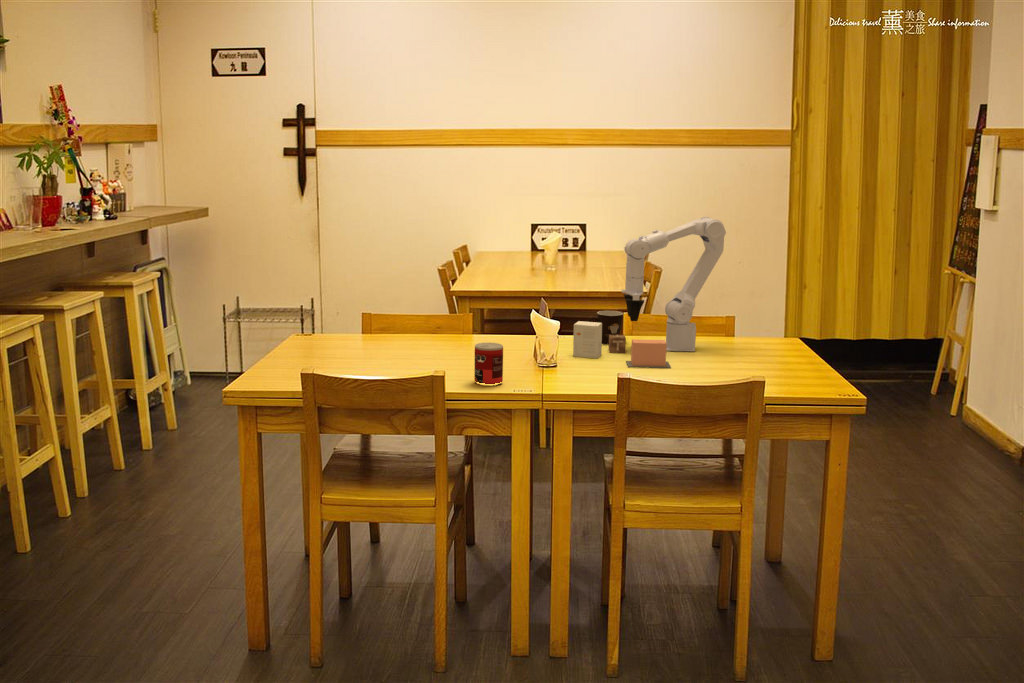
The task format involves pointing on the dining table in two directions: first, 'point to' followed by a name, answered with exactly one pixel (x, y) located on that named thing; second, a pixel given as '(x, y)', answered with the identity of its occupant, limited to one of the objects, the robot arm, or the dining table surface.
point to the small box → (587, 339)
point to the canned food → (488, 363)
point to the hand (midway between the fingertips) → (632, 318)
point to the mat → (649, 366)
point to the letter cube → (617, 343)
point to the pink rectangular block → (648, 352)
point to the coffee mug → (609, 323)
